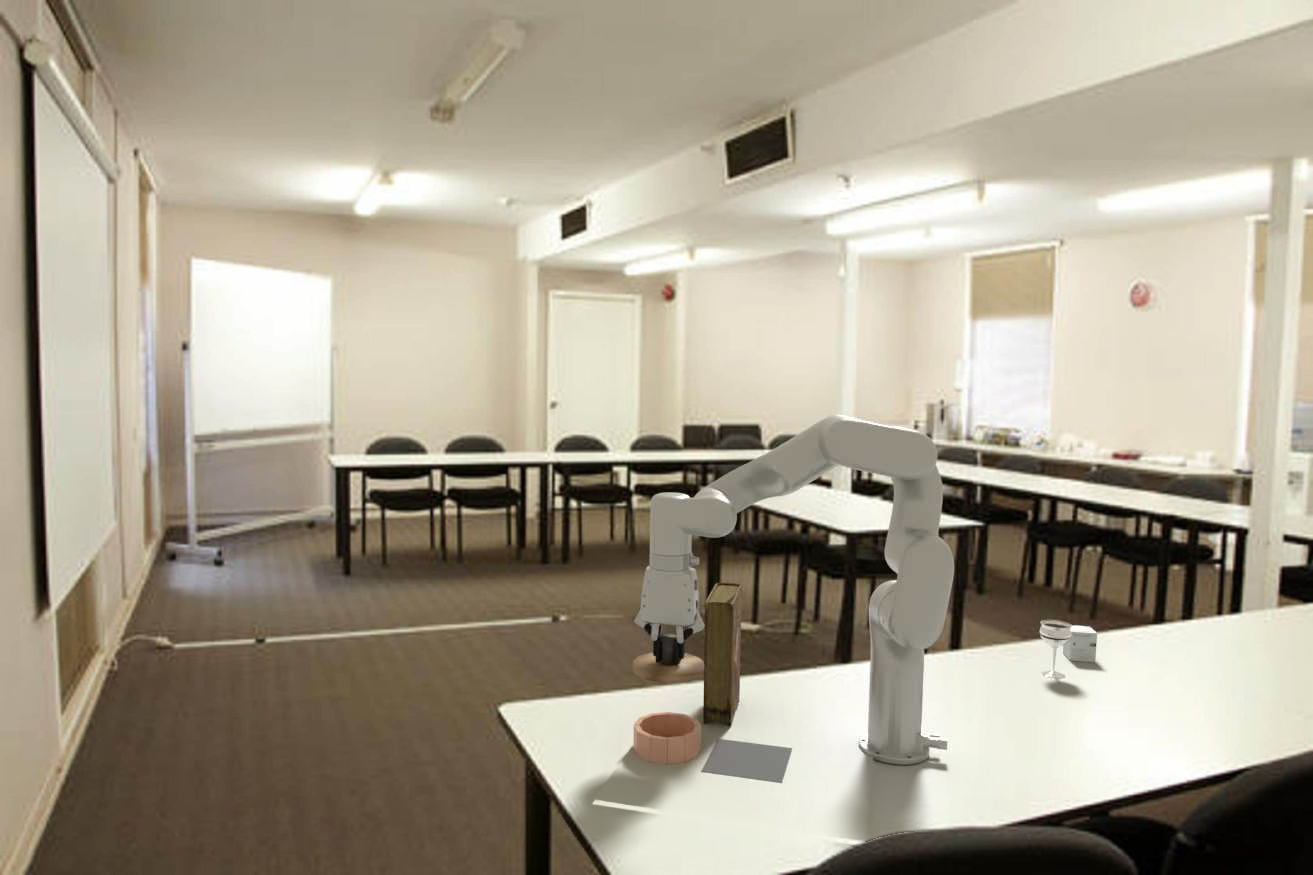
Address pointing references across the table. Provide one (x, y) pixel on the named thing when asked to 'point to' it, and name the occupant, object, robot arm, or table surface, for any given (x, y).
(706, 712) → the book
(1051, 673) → the wineglass
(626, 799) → the table surface
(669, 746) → the bowl
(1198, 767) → the table surface
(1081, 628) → the skincare box
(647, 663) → the lid
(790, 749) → the mat
